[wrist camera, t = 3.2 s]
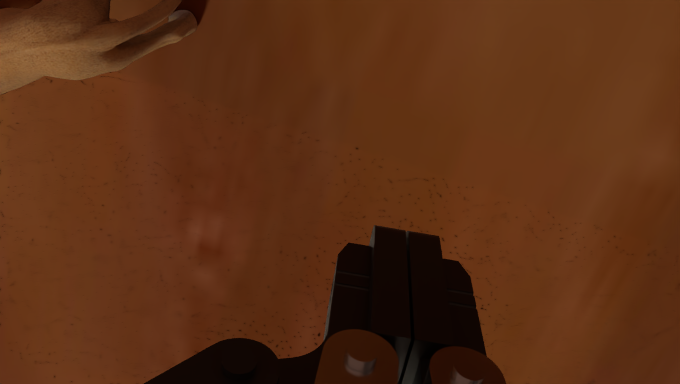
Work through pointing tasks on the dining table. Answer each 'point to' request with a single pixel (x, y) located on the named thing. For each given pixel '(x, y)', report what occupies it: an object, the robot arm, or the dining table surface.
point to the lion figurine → (80, 39)
